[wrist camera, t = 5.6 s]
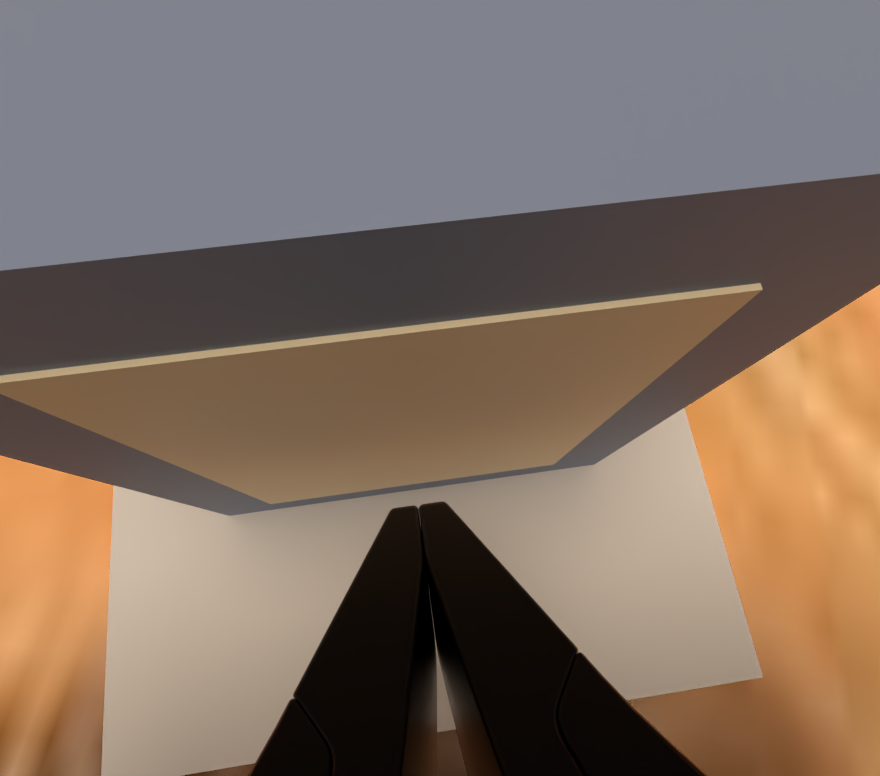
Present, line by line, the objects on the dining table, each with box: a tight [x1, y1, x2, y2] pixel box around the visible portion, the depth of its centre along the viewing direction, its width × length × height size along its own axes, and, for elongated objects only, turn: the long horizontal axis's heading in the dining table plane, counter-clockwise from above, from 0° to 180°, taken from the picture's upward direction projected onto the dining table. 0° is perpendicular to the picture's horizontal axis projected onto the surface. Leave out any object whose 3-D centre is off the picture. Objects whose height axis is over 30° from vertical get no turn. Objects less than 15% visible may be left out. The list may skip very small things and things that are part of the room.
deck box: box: [0, 0, 880, 516], centre depth 10 cm, size 2×10×12 cm, turn 98°
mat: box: [101, 408, 763, 776], centre depth 17 cm, size 24×16×1 cm, turn 8°
